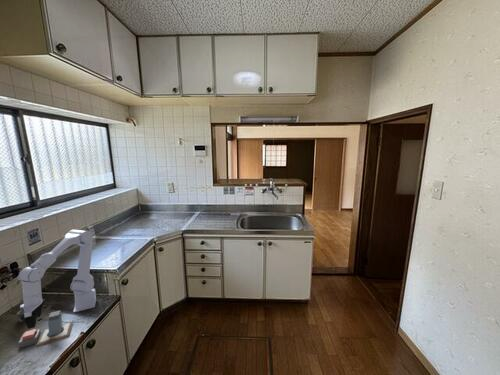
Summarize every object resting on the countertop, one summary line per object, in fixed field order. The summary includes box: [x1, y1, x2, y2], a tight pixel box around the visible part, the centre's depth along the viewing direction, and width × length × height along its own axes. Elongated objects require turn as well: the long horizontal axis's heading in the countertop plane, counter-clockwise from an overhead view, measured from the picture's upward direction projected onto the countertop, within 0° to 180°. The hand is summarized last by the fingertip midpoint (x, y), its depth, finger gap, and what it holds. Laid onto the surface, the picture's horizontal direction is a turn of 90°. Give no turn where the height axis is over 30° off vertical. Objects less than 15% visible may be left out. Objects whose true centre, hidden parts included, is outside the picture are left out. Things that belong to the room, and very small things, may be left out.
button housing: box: [18, 328, 41, 349], centre depth 97 cm, size 6×6×3 cm
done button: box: [21, 328, 37, 340], centre depth 97 cm, size 4×4×2 cm
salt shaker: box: [16, 297, 25, 322], centre depth 110 cm, size 6×6×12 cm
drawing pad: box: [36, 321, 74, 347], centre depth 101 cm, size 11×10×1 cm
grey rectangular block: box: [47, 310, 63, 336], centre depth 101 cm, size 4×4×9 cm
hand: (34, 322), depth 97 cm, fingers open, 7 cm apart
